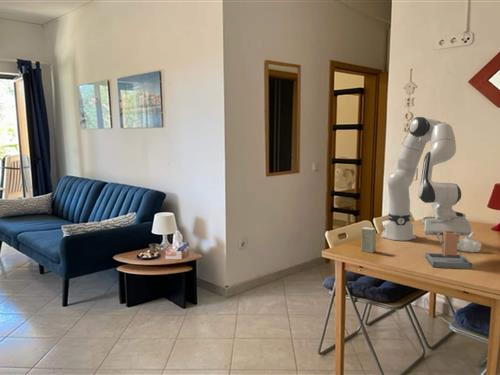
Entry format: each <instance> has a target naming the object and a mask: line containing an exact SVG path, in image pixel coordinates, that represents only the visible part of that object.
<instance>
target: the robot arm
mask: <svg viewBox="0 0 500 375" xmlns="http://www.w3.org/2000/svg"><path fill="white" fill-rule="evenodd" d="M408 130H409V132H408V134H407V135H406V138H405V139H404V142H403V144H402V147H401V150H400V153H399V155H398V158H397V163H396V166H395V170H394V172H393V173H391V174H390V175H389V176H388V179H387V188H388V198H389V203H388V204H389V205H388V207H389V210H388V211H389V212H388V215H387V219H388V220H387V222H386V223H385V224H383V231H382V233H381V238H382V239H388V240H391V241H392V240H393V241H400V242H401V241H403V242H404V241H411V240H415V239H417V237H416V236H415V235H414V224H413V223H412V222H411V198H410V187H411V185H412V184H413V182H414V178H415V175H416V172H417V169H418V165H419V163H420V160H421V159H422V156H423V152H424V150H425V148H426V145H427V143H428V142H430V151H428V152H426V153H425V156H424V159H423V164H422V169H421V179H420V184H419V188H418V191H417V192H418V198H419V199H420V200H421V201H422V202H423V203H424V204H431V207H432V209H433V213H432V214H433V216H425V217H424V218H422V219H421V221H422V225H423V233H424V234H425V235H426V236H435V237H436V238H437V239H438V240H439V243H440V244H442V243H444V238H442V232H443V231H445V232H453V231H455V232H456V233H457V243H459V239H460V237H465V236H469V235H470V234H471V232H473V231H472V227H471V226H472V225H471V224H470V222H469V220H468V219H467V218H466V217H467V216H466V214H465V213H463V212H458V211H457V210H456V211H455V210H454V209H453V207H454V206H455V205H456V204H457V203H458V202H460V200H461V198H462V191H461V190H462V189H461V188H460V186H459V185H458V184H457V183H455V182H454V183H453V182H434V181H432V176H433V167H434V166H436V165H439V164H441V163H446V162H448V161H449V160H451V159H452V158H453V157H455V154H456V153H457V152H456V151H457V144H456V137H455V133H454V130H453V128H452V126H451V125H450V124H449V123H446V122H442V121H440V120H437V119H433V118H428V117H424V116H416V117H414V118H413V119H412V120H411V122H409V127H408Z"/></svg>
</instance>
